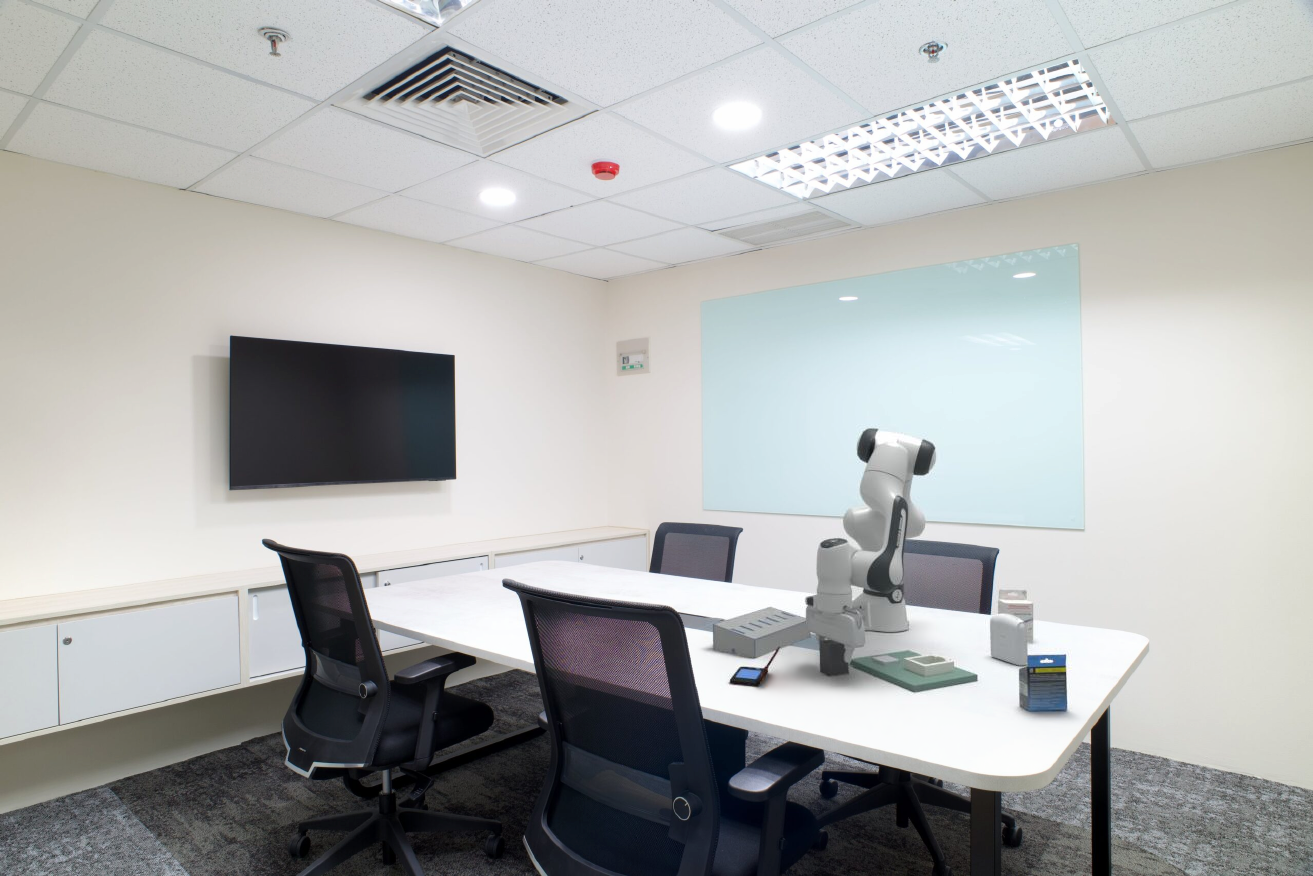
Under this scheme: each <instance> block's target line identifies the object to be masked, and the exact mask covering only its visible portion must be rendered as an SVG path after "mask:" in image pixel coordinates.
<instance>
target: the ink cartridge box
mask: <svg viewBox="0 0 1313 876" xmlns="http://www.w3.org/2000/svg"><path fill="white" fill-rule="evenodd" d="M1012 593H1014V594H1017V595H1013V594H1012ZM1010 594H1011V595H1010ZM1027 597H1028V591H1027V589H1004V588H1003V589H999V590H998V601H997V614H1009V615H1013V616H1015V617H1017V618H1019V619H1021V620H1022V621H1024V622H1025V623H1026V626H1027V644H1029V643H1034V603H1033V602H1031V601H1029V600H1028V599H1027Z"/></svg>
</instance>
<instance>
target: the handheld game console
mask: <svg viewBox="0 0 1313 876" xmlns="http://www.w3.org/2000/svg"><path fill="white" fill-rule="evenodd" d="M780 649H781V648H780V646H779V647H778V648H777V650H775V651H774V653H773V654H772V656H771V658H770V659H769V661H768V663H767V664H766V666H764V667H752V666H739V668H738V669H736V670H735V671H736V672H735V673H734V674H733V675H732V676H731V677H730V679H729V683H730V684H731V685H737V686H738V685H739V686H745V687H746V686H748V687H756V688H758V687H760V686H761V684H762V682H763V679H764V678H765V677H766V676H767V674H768V673H769V667H770V666H771V664H772V662H773V661H774V659H775V658H776V656H777V654H778V653H779V651H780Z"/></svg>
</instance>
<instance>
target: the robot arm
mask: <svg viewBox="0 0 1313 876" xmlns="http://www.w3.org/2000/svg"><path fill="white" fill-rule="evenodd" d="M856 454H857V458H858V459H859V460H860V461H862V462H864V463H866V467H865V469H864V472H863V475H862V477H861V480H860V485H859V494H860V496H861V497H860V498H861V499H862V501H863V502H864V504H863V505H857V506H853V507H848V509H847V510H846V511H845V512H844V515H843V519H842V524H843V529H844V531H845V533H846V534H847V535H848V537H849V538H851V539H852V540H854V541H855V542H856V543H857V545H858V546H859V548H860V549H858V548H856V547H854V546H853V545H851V544H850V542H849V541H848V540H847V539H845V538H841V537H840V538H839V537H837V538H836V537H835V538H834V537H833V538H829V539H824V540H822V541H821V542H820V543H819V545H818V549H817V554H816V578H817V581H818V582H817V586H816V587H817V588H816V594H813V595H809V596H806V597H805V598H804V599H805V600H804V602H805V605H806V608H805V618H806V627H807V629H808V631H809V632H810V633H812V634H815V635H816V636H815V638H816V641H817V643H818V646H819V649H818V651H819V652H820V642H819V641H824V640H826V639H827V640H833V641H836V642H839V643H841V644H844V648H845V649H846V651H845V654H842V661H844V662H846V663H848V662H849V663H850V662H851V659H852V656H853V654H854V651H855V650H856V649H858V648H863V647H864V646H865V645H866V641H867V640H866V631H874V632H886V633H891V632H892V633H895V632H896V633H897V632H904V631H907V630H908V629H909V628H910V627H909V625H910V621H909V620H908V616H907V608H906V607H907V606H906V600H905V598H904V595H905V585H904V581H903V579H904V572H905V571H904V555H905V554H904V553H905V546H906V540H908V539H912V538H917V537H920V536H921V535H922V534H923V532H924V530H925V527H926V518H925V515H924V513H923V511H922V510H921V509H920V508H919V507H917V506H916V505H915V504H914V503H913V501H912V500H911V489H912V483H913V478H914V476H926V475H927V474H929V472H930V471H931V470H932V469H933V468H934V466H935V464H936V461H937V451H936V446H935V444H933V442H931V441H929V440H927V439H921V438H918V437H916V436H914V435H909V434H906V433H902V432H895V431H889V430H882V429H879V428H875V427H873V428H866V429H865V430H863V431H862V433H861V434H860V436H859V437H858V440H857V442H856ZM865 504H866V505H865ZM852 586H853V587H856V588H862V589H863V590H862V593H861V594H859V595H858V596H857V597H856V598H854V599H853V589H852Z"/></svg>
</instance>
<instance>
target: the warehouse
mask: <svg viewBox="0 0 1313 876" xmlns="http://www.w3.org/2000/svg"><path fill="white" fill-rule="evenodd" d="M811 633H812V632H809V631H808V629H807V627H806V617H804V616H800V615H798V614H794V613H792V612H787V611H785V610H781V609H778V608H776V607H772V606H767V607H765V608H761V609H758V610H756V611H752V612H749V613H746V614H741V615H738V616H736V617H733V618H729V619H726V620H722V621H719V622H716V623H713V624H712V649H713V650H715V651H719V652H725V653H728V654H729V653H730V654H734V655H739V656H743V657H747V658H752V659H754V660H755V659H757V658H759V657H763V656H764V655H767V654H770V653H772V652H775V651H776V650H777V648H778V647H779V646H780V649H783V648H785V647H788V646H791V645H793V644H796V643H798V642H801V641H803V640H807V639H808V638H811V637H812V636H811Z"/></svg>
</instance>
